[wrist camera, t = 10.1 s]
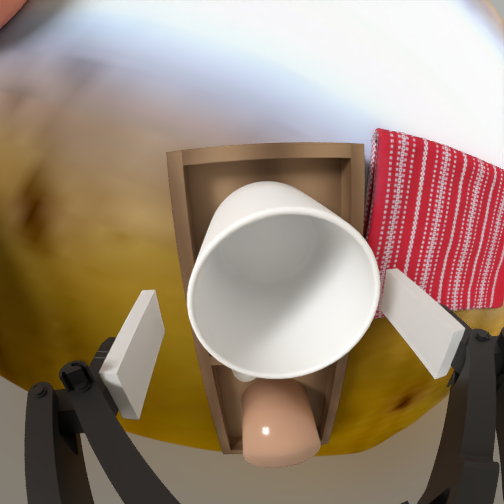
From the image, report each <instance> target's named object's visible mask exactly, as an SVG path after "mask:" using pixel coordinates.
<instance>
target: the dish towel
mask: <svg viewBox="0 0 504 504" xmlns="http://www.w3.org/2000/svg"><path fill="white" fill-rule="evenodd" d="M363 238H364V239H365V240H366V241H367V243H368V244H369V246H370V248H371V249H372V251H373V254H374V256H375V258H376V261H377V265H378V269H379V273H380V283H381V285H380V297H379V303H378V307H377V310H376V313H375V316H374V318H381V317H386V316H385V315H384V314H383V312H382V311H381V310H380V309H381V303H382V297H383V291H384V284H385V277H386V270H387V269H395V268H397V269H399V270H400V271H401V272H402V273H403V274H405V275H406V276H407V277H408V278H409V279H411V280H412V281H413V282H414V283H415V284H417V285H418V286H419V287H420V288H421V289H422V290H424V291H425V292H426V293H427V294H428V295H429V296H430V297H432V298H433V299H434V300H435V301H436V302H437V303H441V304H443V305H445V306H447V307H448V308H449V309H450V310H451V311H453V310H454V311H456V310H470V309H481V308H499V307H501V306H502V305H503V300H504V169H501V168H499V167H497V166H494V165H492V164H489V163H487V162H485V161H483V160H481V159H479V158H477V157H473V156H472V155H468V154H466V153H464V152H462V151H458V150H456V149H454V148H451V147H449V146H447V145H444V144H440V143H437V142H434V141H429V140H426V139H425V138H420V137H415V136H412V135H407V134H405V133H401V132H395V131H390V130H384V129H380V128H378V129H376V130H375V133H374V135H373V137H372V152H371V158H370V167H369V175H368V184H367V190H366V196H365V206H364V222H363Z"/></svg>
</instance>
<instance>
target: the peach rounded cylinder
mask: <svg viewBox="0 0 504 504" xmlns="http://www.w3.org/2000/svg"><path fill="white" fill-rule="evenodd" d="M241 404H242V436H243V456H244V459H245V460H246V461H247V462H249V463H250V464H253V465H255V466H259V467H265V468H281V467H288V466H293V465H296V464H299V463H302V462H304V461H306V460H308V459H310V458H311V457H313V456H314V455H315V454H316V453H317V452H318V451H319V449H320V447H321V443H320V439H319V435H318V432H317V428H316V424H315V420H314V416H313V413H312V409H311V405H310V401H309V397H308V394H307V390H306V388H305V386H304V385H303V384H302V383H300V382H299V381H297V380H295V379H291V378H286V379H263V380H260V381H258V382H256V383H254V384H252V385H251V386H249V387H248V388H247V389H246V390H245V391H244V393H243V395H242V398H241Z"/></svg>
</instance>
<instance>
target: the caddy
mask: <svg viewBox="0 0 504 504" xmlns="http://www.w3.org/2000/svg"><path fill="white" fill-rule="evenodd" d="M166 155H167V166H168V177H169V186H170V196H171V204H172V213H173V221H174V228H175V235H176V242H177V249H178V256H179V262H180V269H181V275H182V281H183V287H184V292H185V298H186V303H187V291H188V285H189V280H190V277H191V274H192V271H193V268H194V265H195V263H196V260H197V257H198V254H199V252H200V249H201V246H202V244H203V241H204V238H205V236H206V233H207V230H208V228H209V225H210V223H211V220H212V218H213V216H214V214H215V212H216V210H217V209H218V207H219V206H220V204H221V203H222V202H223V201H224V200H225V199H226V198H227V197H228V196H229V195H230V194H232V193H233V192H234V191H236V190H238V189H239V188H241V187H243V186H246V185H248V184H252V183H255V182H262V181H273V182H280V183H284V184H288V185H290V186H292V187H295V188H297V189H298V190H300V191H302V192H303V193H305V194H306V195H308V196H309V197H311V198H312V199H314V200H315V201H317V202H318V203H320V204H321V205H323V206H324V207H326V208H327V209H329V210H330V211H332V212H333V213H335V214H336V215H337V216H339V217H340V218H342V219H343V220H344V221H346V222H347V223H349V224H350V225H351V226H352V227H353V228H355V229H356V230H357V231H358V232H359V233H360V234H361V235H362V236H363V222H364V189H365V162H364V144H355V143H320V142H299V143H263V144H244V145H230V146H218V147H207V148H197V149H188V150H180V151H172V152H166ZM187 309H188V308H187ZM190 324H191V322H190ZM191 329H192V334H193V339H194V343H195V348H196V352H197V357H198V361H199V366H200V370H201V374H202V378H203V383H204V387H205V391H206V395H207V399H208V402H209V406H210V410H211V414H212V417H213V421H214V425H215V428H216V432H217V435H218V439H219V442H220V445H221V449H222V452H223V454H243V436H242V404H241V398H242V395H243V393H244V391H245V390H246V389H247V388H248V387H249V386H251V385H252V384H254V383H256V382H258V381H260V380H263V379H266V378H258V377H256V378H255V379H254V380H252V381H248V382H242V381H240V380H238V379H237V378H236V377H235V376H234V374H233V372H232V369H231V368H229V367H227V366H225V365H224V364H222V363H221V362H219V361H218V360H217V359H216V358H214V357H213V356H212V355H211V354H210V353H209V352H208V351H207V350H206V349H205V348H204V347H203V345H202V344H201V342H200V341H199V339H198V338H197V336H196V334H195V332H194V330H193V328H192V325H191ZM348 356H349V352H348V353H346V354H345V355H344V356H343V357H342V358H340V359H339V360H337V361H336V362H334V363H332V364H331V365H329V366H327V367H325V368H323V369H321V370H318V371H316V372H313V373H310V374H307V375H303V376H299V377H294V378H291V379H295V380H297V381H299V382H300V383H302V384H303V385H304V386H305V388H306V390H307V394H308V397H309V401H310V405H311V409H312V413H313V416H314V420H315V424H316V428H317V432H318V435H319V439H320V443H321V445H323V444H328V443H329V439H330V436H331V432H332V428H333V424H334V421H335V417H336V413H337V408H338V404H339V400H340V396H341V391H342V386H343V382H344V377H345V372H346V367H347V361H348Z"/></svg>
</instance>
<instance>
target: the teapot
mask: <svg viewBox="0 0 504 504" xmlns="http://www.w3.org/2000/svg"><path fill="white" fill-rule="evenodd" d="M26 1H27V0H0V29H1V28H2V27H3V26H4V25H5V24H6V23H7V22H8V21H9V20H10V19H11V18H12V17H13V16H14V15H15V14H16V13H17V12H18V11H19V10H20V9H21V7H22V6H23V5H24V4H25V3H26Z"/></svg>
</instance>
